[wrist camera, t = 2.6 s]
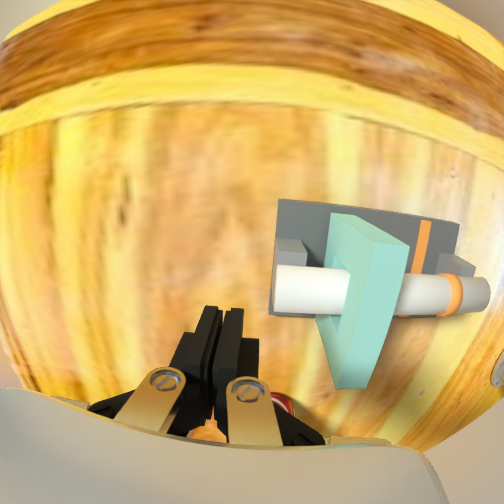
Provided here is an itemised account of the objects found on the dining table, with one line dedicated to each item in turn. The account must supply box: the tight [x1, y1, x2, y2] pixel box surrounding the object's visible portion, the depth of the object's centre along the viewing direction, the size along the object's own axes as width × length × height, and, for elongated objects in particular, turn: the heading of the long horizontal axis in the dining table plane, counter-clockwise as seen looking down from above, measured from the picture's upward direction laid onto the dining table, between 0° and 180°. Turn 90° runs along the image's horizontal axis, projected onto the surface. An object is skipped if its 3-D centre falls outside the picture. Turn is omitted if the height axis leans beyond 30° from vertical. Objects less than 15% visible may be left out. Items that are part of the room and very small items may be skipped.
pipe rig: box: [269, 199, 490, 318], centre depth 19 cm, size 18×10×8 cm, turn 86°
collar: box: [315, 213, 410, 390], centre depth 17 cm, size 2×9×9 cm, turn 176°
